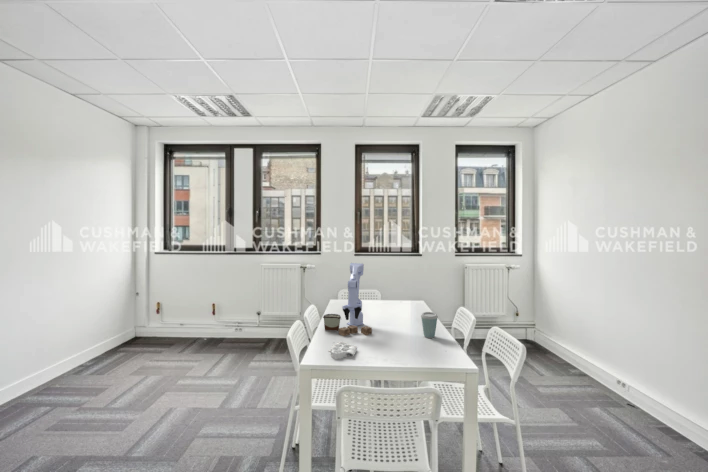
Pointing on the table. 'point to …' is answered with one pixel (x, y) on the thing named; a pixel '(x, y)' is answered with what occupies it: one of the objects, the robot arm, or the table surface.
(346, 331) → the block two
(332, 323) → the food container
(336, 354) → the grey egg carton
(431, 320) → the disposable coffee cup
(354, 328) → the plain block
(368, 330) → the block one
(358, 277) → the robot arm
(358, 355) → the table surface
